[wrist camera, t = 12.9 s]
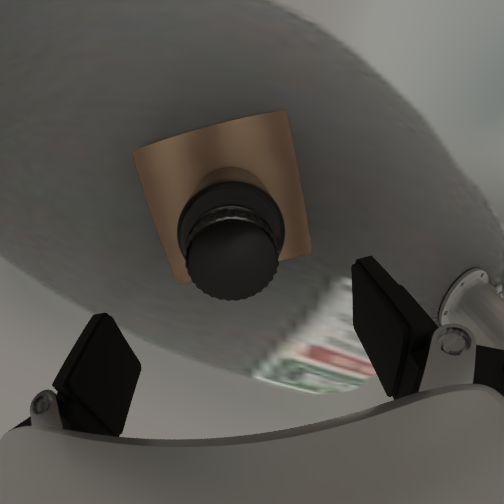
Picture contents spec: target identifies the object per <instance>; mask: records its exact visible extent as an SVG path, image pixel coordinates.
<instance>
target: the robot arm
mask: <svg viewBox="0 0 504 504" xmlns="http://www.w3.org/2000/svg"><path fill="white" fill-rule="evenodd" d="M351 270H352V292H353V325H354V329H355V331H356V333H357V335H358V337H359V339H360V341H361V343H362V345H363V347H364V349H365V351H366V353H367V355H368V357H369V359H370V361H371V363H372V365H373V367H374V369H375V371H376V373H377V375H378V377H379V380H380V382H381V384H382V386H383V388H384V390H385V392H386V394H387V396H389V397H391V396H393V398H394V400H393V401H391V402H387V403H384V404H381V405H378V406H375V407H372V408H369V409H366V410H363V411H360V412H356V413H353V414H349V415H345V416H342V417H338V418H334V419H330V420H326V421H322V422H318V423H314V424H309V425H305V426H300V427H295V428H290V429H285V430H279V431H273V432H267V433H260V434H254V435H244V436H236V437H224V438H210V439H189V440H188V439H187V440H186V439H185V440H165V439H139V438H125V437H119V435H120V434H121V433H122V431H123V429H124V425H125V421H126V418H127V414H128V411H129V407H130V404H131V401H132V397H133V394H134V391H135V388H136V384H137V381H138V378H139V375H140V372H141V364H140V362H139V360H138V359H137V357H136V355H135V354H134V352H133V351H132V349H131V348H130V346H129V344H128V343H127V341H126V340H125V338H124V336H123V335H122V333H121V331H120V329H119V328H118V326H117V324H116V323H115V321H114V319H113V318H112V317H111V316H109V315H108V314H107V313H101V314H95V315H93V316H92V318H91V319H90V321H89V322H88V324H87V325H86V327H85V329H84V330H83V332H82V333H81V335H80V337H79V338H78V340H77V342H76V343H75V345H74V347H73V348H72V350H71V352H70V353H69V355H68V357H67V358H66V360H65V362H64V364H63V366H62V368H61V369H60V371H59V373H58V375H57V376H56V378H55V380H54V382H53V384H52V386H53V387H55V389H56V390H57V391H58V393H57V395H56V394H55V393H54V392H53V391H52V390H44V391H42V392H40V393H39V394H37V396H35V398H34V399H33V401H32V403H31V406H30V415H31V417H29V418H28V419H26V420H25V421H23V422H22V423H20V424H19V425H17V426H16V427H14V428H13V429H11V430H9V431H8V432H7V433H5V434H4V435H3V437H2V438H1V440H0V504H504V299H503V295H502V293H501V291H502V286H501V285H500V284H499V285H497V286H495V287H493V286H492V285H491V284H489V278H488V275H487V273H486V272H485V271H484V270H482V269H481V268H473V269H471V270H469V271H467V272H466V273H464V274H463V275H462V276H461V277H460V278H459V279H458V280H457V281H456V282H455V283H454V284H453V286H452V287H451V288H450V290H449V291H448V293H447V294H446V296H445V298H444V300H443V303H442V305H441V308H440V312H439V323H440V325H441V327H438V326H437V325H436V324H435V323H434V321H433V320H432V319H431V318H430V317H429V315H428V314H427V313H426V312H425V311H424V310H423V308H422V307H421V306H420V305H419V304H418V303H417V301H416V300H415V299H414V298H413V297H412V296H411V295H410V294H409V292H408V291H407V290H406V289H405V288H404V287H403V286H402V285H399V284H398V283H397V282H396V281H395V280H394V279H393V278H392V277H391V276H390V275H389V274H388V273H387V271H386V270H385V269H384V268H383V267H382V266H381V265H380V264H379V263H378V262H377V261H376V260H375V259H374V258H373V257H372V256H368V257H364V258H360V259H357V260H356V262H355V264H353V265H352V267H351Z"/></svg>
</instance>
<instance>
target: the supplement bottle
mask: <svg viewBox="0 0 504 504" xmlns="http://www.w3.org/2000/svg"><path fill="white" fill-rule="evenodd" d="M177 240H178V245H179V248H180V251H181V253H182V255H183V257H184V259H185V261H186V262H185V267H186V268H187V272H188V275H189V276H190V277H191V280H192V282H193V283H195V284H196V286H197V288H199V289H201V290H202V291H203V292H204V293H206V294H209V295H210V296H211V297H216V298H218V299H219V300H222V299H225V300H227V301H230V300H236V301H237V300H240V299H246V298H248V297H250V296H254V295H255V294H256V293H259V292H261V291H262V289H263V288H265V287H267V286H268V283H269V282H270V281H272V280H273V276H274V275H275V274H276V272H277V269H276V268H277V267H278V265H279V261H278V258H279V255H280V253H281V251H282V248H283V245H284V241H285V223H284V219H283V215H282V213H281V210H280V208H279V206H278V205H277V203H276V201H275V200H274V199H273V197H272V196H271V194H270V193H269V191H268V190H267V189H266V187H265V186H264V184H263V183H262V182H261V181H260V180H259V178H258V177H256V176H255V175H254V174H253V173H251V172H249V171H247V170H245V169H242V168H238V167H224V168H220V169H217V170H214V171H212V172H210V173H209V174H207V175H206V176H205V177H204V178H203V179H202V180H201V181H200V182H199V183H198V185H197V186H196V188H195V189H194V191H193V192H192V194H191V196H190V197H189V199H188V200H187V202H186V204H185V206H184V207H183V209H182V211H181V214H180V216H179V220H178V225H177Z"/></svg>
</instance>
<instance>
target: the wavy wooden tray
mask: <svg viewBox="0 0 504 504" xmlns="http://www.w3.org/2000/svg"><path fill="white" fill-rule="evenodd" d="M132 154H133V157H134V161H135V164H136V167H137V171H138V174H139V177H140V181H141V184H142V187H143V190H144V193H145V196H146V199H147V202H148V205H149V208H150V211H151V214H152V217H153V220H154V223H155V226H156V229H157V231H158V234H159V237H160V240H161V242H162V245H163V248H164V250H165V253H166V256H167V258H168V261H169V263H170V266H171V269H172V271H173V274H174V276H175V279H176V281H177V283H178V284H182V283H186V282H191V281H192V280H191V277H190V276H189V275H188V272H187V268H186V267H185V262H186V261H185V259H184V257H183V255H182V253H181V251H180V248H179V245H178V240H177V225H178V220H179V216H180V214H181V211H182V209H183V207H184V206H185V204H186V202H187V200H188V199H189V197H190V196H191V194H192V192H193V191H194V189H195V188H196V186H197V185H198V183H199V182H200V181H201V180H202V179H203V178H204V177H205V176H206V175H207V174H209V173H210V172H212V171H214V170H217V169H220V168H224V167H238V168H242V169H245V170H247V171H249V172H251V173H253V174H254V175H255V176H256V177H258V178H259V180H260V181H261V182H262V183H263V184H264V186H265V187H266V189H267V190H268V191H269V193H270V194H271V196H272V197H273V199H274V200H275V201H276V203H277V205H278V206H279V208H280V210H281V213H282V215H283V219H284V223H285V241H284V245H283V248H282V251H281V253H280V255H279V258H278V261H281V260H285V259H290V258H294V257H298V256H302V255H306V254H310V253H312V248H311V241H310V234H309V227H308V221H307V215H306V209H305V203H304V197H303V191H302V186H301V180H300V175H299V170H298V164H297V159H296V154H295V149H294V144H293V140H292V135H291V130H290V126H289V121H288V117H287V112H286V110H281V111H275V112H270V113H264V114H259V115H254V116H250V117H245V118H240V119H236V120H232V121H228V122H224V123H220V124H216V125H212V126H208V127H204V128H201V129H197V130H194V131H190V132H187V133H184V134H180V135H177V136H174V137H171V138H168V139H165V140H162V141H159V142H156V143H153V144H150V145H147V146H145V147H142V148H139V149H136V150H134V151H132Z"/></svg>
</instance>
